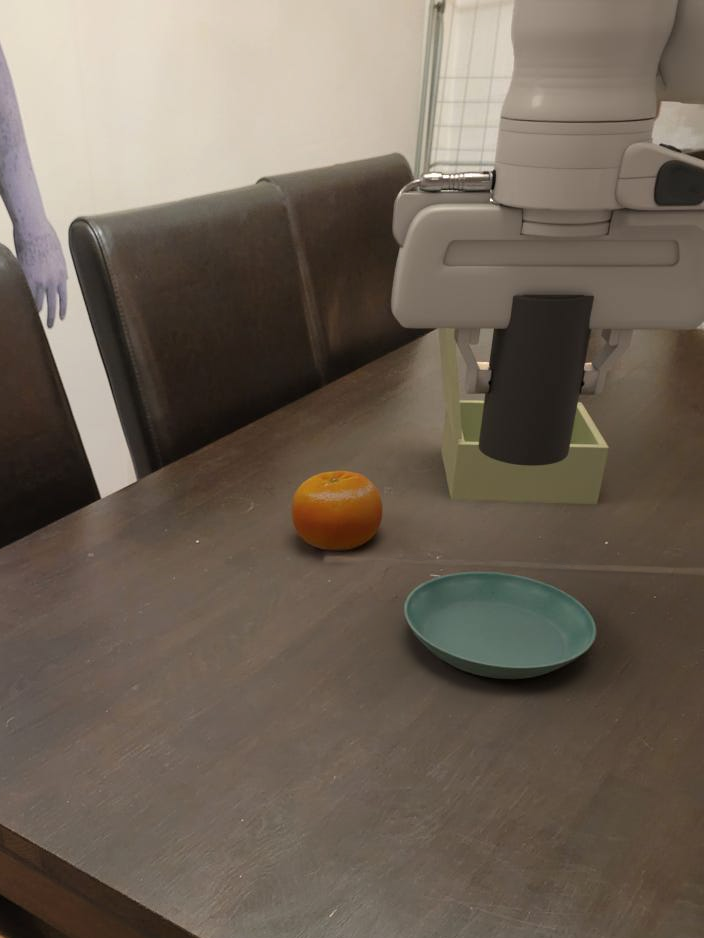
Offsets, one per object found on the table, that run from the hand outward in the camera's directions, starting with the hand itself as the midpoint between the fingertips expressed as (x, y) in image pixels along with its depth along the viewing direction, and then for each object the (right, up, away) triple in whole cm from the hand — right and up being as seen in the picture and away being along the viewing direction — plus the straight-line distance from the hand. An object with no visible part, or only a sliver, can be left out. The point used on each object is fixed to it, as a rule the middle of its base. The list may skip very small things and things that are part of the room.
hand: (532, 392), depth 66 cm
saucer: (0, -18, +11) cm, 21 cm away
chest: (+10, 0, +38) cm, 39 cm away
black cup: (0, -4, +2) cm, 4 cm away
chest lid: (+2, +13, +31) cm, 33 cm away
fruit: (-11, -8, +27) cm, 30 cm away
